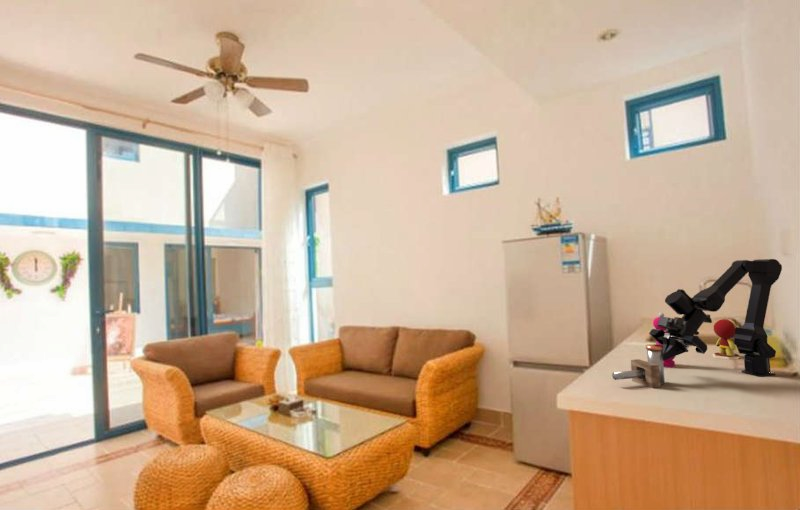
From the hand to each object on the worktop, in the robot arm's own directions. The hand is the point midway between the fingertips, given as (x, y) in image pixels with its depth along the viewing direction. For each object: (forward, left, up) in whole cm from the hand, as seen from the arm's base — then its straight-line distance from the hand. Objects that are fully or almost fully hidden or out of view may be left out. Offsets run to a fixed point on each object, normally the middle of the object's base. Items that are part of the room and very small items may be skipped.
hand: (662, 359), depth 138 cm
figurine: (-48, -23, -8) cm, 54 cm away
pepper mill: (-17, -19, -8) cm, 27 cm away
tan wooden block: (+6, 0, -7) cm, 10 cm away
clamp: (+9, 0, -7) cm, 11 cm away
